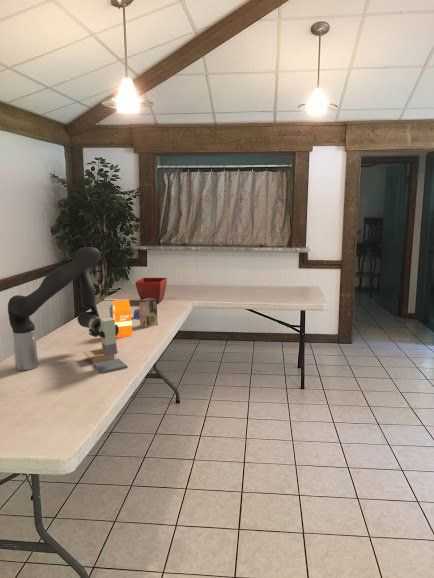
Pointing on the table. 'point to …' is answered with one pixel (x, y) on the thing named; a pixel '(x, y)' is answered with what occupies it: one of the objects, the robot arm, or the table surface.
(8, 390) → the table surface
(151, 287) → the plant pot
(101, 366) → the slate mat
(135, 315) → the pudding
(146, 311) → the coffee box
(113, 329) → the box
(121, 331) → the orange juice
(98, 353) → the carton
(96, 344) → the table surface
